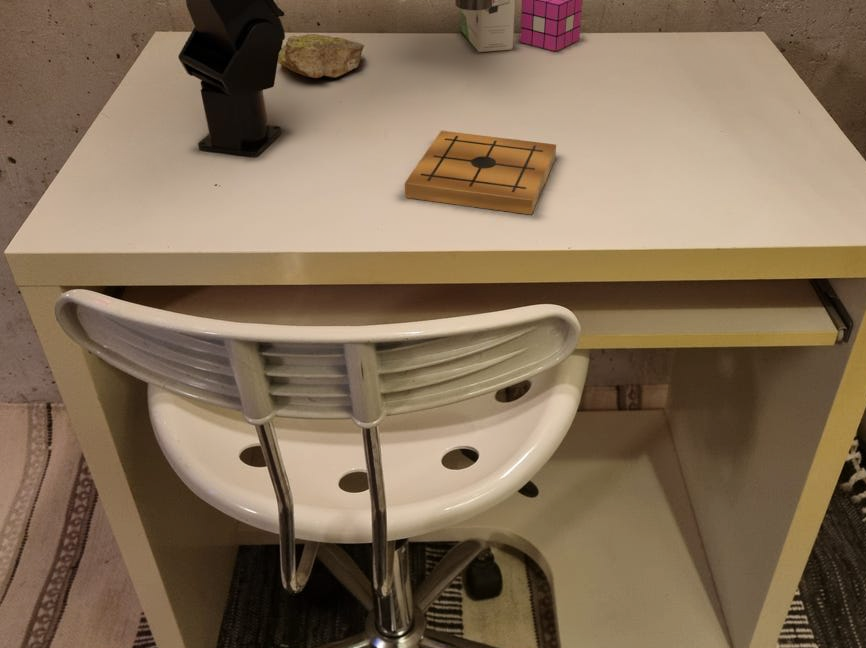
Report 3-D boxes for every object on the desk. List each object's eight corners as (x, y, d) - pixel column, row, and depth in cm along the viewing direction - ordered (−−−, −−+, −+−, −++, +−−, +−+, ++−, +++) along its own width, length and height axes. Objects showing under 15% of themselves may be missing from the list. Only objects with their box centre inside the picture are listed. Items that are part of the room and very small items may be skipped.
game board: (531, 215, 76) (532, 199, 75) (405, 197, 78) (404, 182, 77) (555, 158, 85) (556, 143, 84) (441, 144, 87) (440, 129, 86)
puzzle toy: (543, 31, 114) (546, -14, 110) (579, 40, 112) (583, -6, 108) (519, 42, 111) (521, -4, 107) (555, 52, 108) (559, 5, 104)
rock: (353, 89, 98) (356, 56, 96) (266, 75, 97) (267, 41, 95) (366, 63, 109) (369, 33, 107) (288, 50, 108) (289, 20, 106)
